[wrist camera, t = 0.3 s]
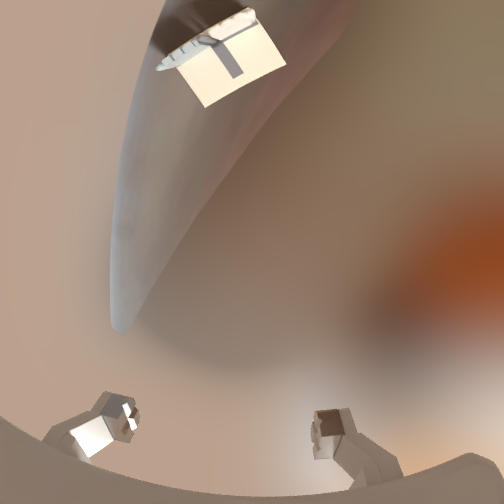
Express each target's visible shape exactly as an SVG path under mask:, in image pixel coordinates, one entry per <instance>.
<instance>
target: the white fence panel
mask: <svg viewBox="0 0 504 504" xmlns="http://www.w3.org/2000/svg"><path fill="white" fill-rule="evenodd" d="M233 17H234V18H232V19H230V18H229V19H227V20H226V21H224V22H222V24H221V25H216V26H215V27H213V28H211V29H210V30H211V31H209V32H208V33H209V34H210V35H211V37H210V36H206V35H203V34H199V35H197V37H196V39H197V40H198V41H201V42H207V43H213V44H216V43H217V42H218V40H223V39H224V38H226V37H228V36H230V35H232V34H234V33H236V32H237V31H239V30H241V29H243V28H245V27H247V26H249V25H251V24H252V23H255V22H256V16H255V11H254V10H253V9H248V10H247V11H246V12H244V13H242V12H241V13H239V14H237V15H235V16H233ZM217 39H218V40H217Z"/></svg>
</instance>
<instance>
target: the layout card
mask: <svg viewBox="0 0 504 504" xmlns="http://www.w3.org/2000/svg"><path fill="white" fill-rule="evenodd" d="M248 9H249V7H248V8H246V9H244V10H242V11H240V12H238V13H236V14H234V15H232V16H230V17H228V18H226V19H224V20H222V21H221V22H219V23H217V24H215V25H213V26H212V27H210V28H208V29H207V30H205V31H203V32H202V33H200V34H203V35H206V36H210V37H211V35H210V34H209V33H208V32H209V31H211V30H210V29H211V28H213V27H215V26H216V25H221V24H222V22H224V21H226V20H227V19H229V18H230V19H232V18H234V17H233V16H235V15H237V14H239V13H241V12H242V13H244V12H246V11H247V10H248ZM198 35H199V34H198ZM196 37H197V36H195V37H193V38H192V39H190V40H189V41H187V42H186V43H184V44H183V45H181V46H180V47H178V48H177V49H175V50H174V51H172V52H171V53H170V54H168V56H171V55H173V54H172V53H173V52H175V51H176V50H178V49H179V48H183V46H184V45H185V44H187V43H188V42H190V41H194V40H195V39H196ZM196 40H197V39H196ZM217 40H218V39H217ZM209 44H210V47H209V48H207V49H205V50H204V51H202V52H201V53H199V54H197V55H196V56H194V57H193V58H191V59H190V60H188V61H187V62H185V63H184V64H182V65H180V66H178V67H177V69H178V70H179V72H180V73H181V74H182V76H183V77H184V78H185V80H186V81H187V83H188V84H189V85H190V87H191V88H192V90H193V91H194V92H195V94H196V95H197V97H198V98H199V99H200V101H201V102H202V104H203V105H204V107H205V108H206V107H207V106H209V105H210V104H212V103H214V102H215V101H217V100H219V99H220V98H222V97H224V96H226V95H227V94H229V93H231V92H233V91H234V90H236V89H238V88H240V87H242V86H244V85H245V84H247V83H249V82H251V81H253V80H255V79H257V78H259V77H261V76H263V75H265V74H267V73H269V72H271V71H273V70H275V69H277V68H279V67H282V66H284V65H286V63H285V61H284V60H283V58H282V56H281V55H280V53H279V51H278V50H277V48H276V47H275V45H274V44H273V42H272V41H271V39H270V37H269V36H268V34H267V33H266V31H265V30H264V28H263V27H262V26H261V24H260V23H259V21H258V20H257V18H256V22H255V23H252V24H251V25H249V26H247V27H245V28H243V29H241V30H239V31H237V32H236V33H234V34H232V35H230V36H228V37H226V38H224V39H223V40H218V42H217V43H216V44H213V43H209Z"/></svg>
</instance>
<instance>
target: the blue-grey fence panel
mask: <svg viewBox="0 0 504 504" xmlns="http://www.w3.org/2000/svg"><path fill="white" fill-rule="evenodd" d="M209 47H210V44H209V43H207V42H201V41H198V40H196V39H195V40H194V41H190V42H188V43H187V44H185V45H184V46H183V48H179V49H178V50H176V51H175V52H173V53H172V54H173V55H171V56H168V57H166V58H165V59H164V60H162V64H157V65H156V70H157V71H161V70H165V69H169V68H174V67H178V66H180V65H182V64H184V63H185V62H187V61H188V60H190V59H191V58H193V57H194V56H196V55H197V54H199V53H201V52H202V51H204V50H205V49H207V48H209Z"/></svg>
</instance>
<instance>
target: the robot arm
mask: <svg viewBox="0 0 504 504" xmlns="http://www.w3.org/2000/svg"><path fill="white" fill-rule="evenodd" d="M135 404H136V403H135V400H134V398H131V397H127V396H123V395H119V394H115V393H111V392H107V391H105V392H103V393H102V395H101V396H100V398H99V399H98V400H97V402H96V403H95V405H94V406H93V408H92V409H91V411H86V412H84V413H82V414H80V415H77V416H75V417H73V418H71V419H68V420H66V421H64V422H61V423H59V424H57V425H54V426H52V428H51V429H50V430H49V432H48V433H47V434H46V436H45V437H44V439H43V440H42V441H40V440H38V439H36V438H35V437H33V436H31V435H29V434H28V433H26V432H24V431H22V430H21V429H19V428H18V427H16V426H15V425H13V424H11V423H10V422H8V421H7V420H5V419H4V418H2V417H1V416H0V504H504V479H503V477H502V475H501V473H500V471H499V469H498V467H497V466H496V464H495V463H494V462H493V461H491V460H489V459H487V458H484V457H482V456H480V455H477V454H474V453H466V454H464V455H461V456H459V457H457V458H454V459H452V460H450V461H447V462H445V463H442V464H440V465H437V466H435V467H432V468H429V469H426V470H424V471H421V472H418V473H415V474H412V475H409V476H406V477H404V476H403V473H402V471H401V468H400V465H399V463H398V460H397V458H396V457H395V456H394V455H392V454H391V453H389V452H388V451H386V450H385V449H383V448H382V447H380V446H378V445H377V444H376V443H374V442H373V441H372V440H370V439H369V438H367V437H366V436H365V435H363V434H362V433H358V432H357V429H356V427H355V423H354V420H353V418H352V415H351V411H350V409H349V408H343V409H332V410H320V411H315V413H314V422H312V426H311V440H312V442H313V443H314V446H313V453H314V459H315V460H316V459H329V458H333V459H334V460H335V461H336V462H337V463H338V464H339V465H340V466H341V467H342V468H343V469H344V470H345V471H346V472H347V473H348V474H349V475H350V476H351V477H352V478H353V479H354V480H355V481H354V482H353V484H352V485H351V487H350V488H349V490H345V491H338V492H331V493H323V494H315V495H302V496H283V497H251V496H231V495H220V494H210V493H202V492H195V491H189V490H182V489H177V488H171V487H167V486H162V485H158V484H153V483H149V482H145V481H141V480H138V479H134V478H130V477H127V476H124V475H121V474H117V473H115V472H112V471H109V470H106V469H103V468H100V467H97V466H95V465H93V463H92V462H91V460H90V459H89V457H90V456H91V455H93V454H95V453H96V452H98V451H99V450H100V449H102V448H103V447H105V446H106V445H108V444H109V443H111V442H112V441H113V440H118V441H122V442H126V443H130V441H131V439H132V437H133V435H134V433H133V429H135V428H137V426H138V424H139V419H140V416H139V411H138V410H137V408H136V407H135Z"/></svg>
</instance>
